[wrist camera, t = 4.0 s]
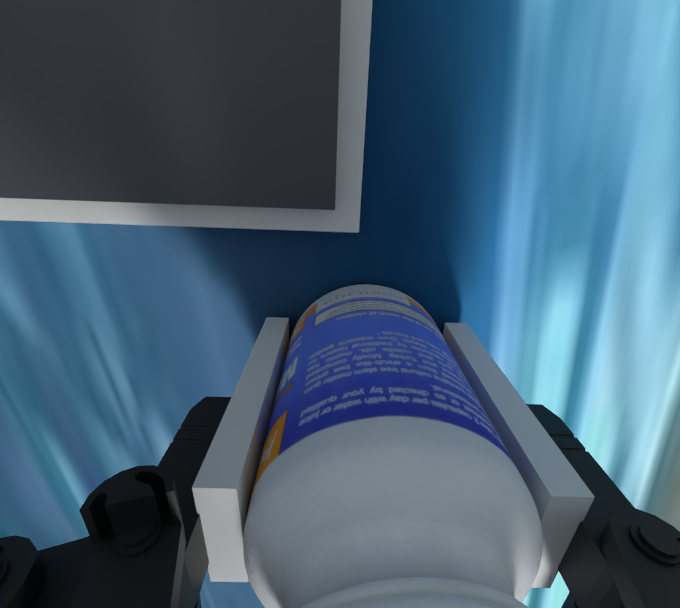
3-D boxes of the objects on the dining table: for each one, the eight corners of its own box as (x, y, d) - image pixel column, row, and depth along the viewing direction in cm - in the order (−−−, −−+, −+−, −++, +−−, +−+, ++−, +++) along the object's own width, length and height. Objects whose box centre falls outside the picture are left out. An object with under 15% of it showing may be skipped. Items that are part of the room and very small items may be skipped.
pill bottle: (273, 294, 12) (61, 749, 3) (432, 266, 11) (777, 693, 2) (308, 417, 14) (250, 891, 5) (443, 397, 13) (643, 876, 5)
